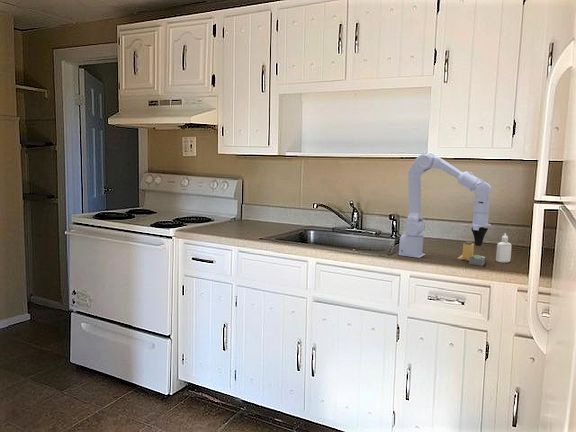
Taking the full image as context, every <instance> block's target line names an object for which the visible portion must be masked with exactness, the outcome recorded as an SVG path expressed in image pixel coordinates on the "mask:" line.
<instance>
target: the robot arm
mask: <svg viewBox="0 0 576 432" xmlns="http://www.w3.org/2000/svg"><path fill="white" fill-rule="evenodd" d="M431 169H435V170H436V169H437V170H438V169H440V170H442V171H443V172H445V173H447V174H449V175H450V176H452V177H454V178H456V179H457V183H458V184H459V185H460V186H462V187H463V188H465V189H467V190H468V191H470V192H473V193H474V201H473V214H472V215H473V216H472V223H471V225H472V227H471V229H470V230H471V232H472V234H473V239H474V247H476V246H477V247H482V245H483V242H484V238H485V236H486V233H487V232H488V230H489V228H488V227H491V226H492V224H491V223H489V215H490V214H489V213H490V203H491V201H490V199H491V198H490V197H491V196H490V194H491V193H492V186H491V185H490V184H489V183H488V182H487V181H484V179H482V178H479V177H476V176H475V175H474V174H473V173H474V172H472V171H462V170H459V168H456V167H455V166H453V164H451V163H449V162H448V161H446V160H444V159H443V158H441V157H439V156H436V155H435V154H432V153H421V154H420V155H418V156H417V157H416V158H414V161H413V164H412V165H411V167H410V168H409V170H408V171H407V175H408V176H407V177H408V179H407V180H408V216H407V218H406V224H405V226H404V229H405V232H406V233H402V234H401V235H400V238H399V243H398V244H399V247H398V249H399V250H398V256H403V257H409V258H410V257H411V258H415V259H417V258H418V259H420V258H422V257H423V256H425V255H426V253H424V252H423V247H424V246H423V245H424V234H423V231H424V230H425V228H426V225H425V222H424V217H423V214H422V190H421V189H422V188H421V186H422V185H421V180H422V179H421V177H422V176H423V175H424V174H425V173H426V172H427V171H428V170H431Z"/></svg>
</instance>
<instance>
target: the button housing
mask: <svg viewBox="0 0 576 432" xmlns="http://www.w3.org/2000/svg"><path fill="white" fill-rule="evenodd" d="M484 257H485V256H482V257H481V259H475V258H474V256H472V257H470V258H469V261H468V265H474V266H484V265H485V264H486V259H485V258H484Z"/></svg>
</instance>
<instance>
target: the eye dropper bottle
mask: <svg viewBox="0 0 576 432" xmlns="http://www.w3.org/2000/svg"><path fill="white" fill-rule="evenodd" d="M495 254H496V255H495V261H496V262H497V263H500V264H501V263H503V264H504V263H505V264H506V263H510V262H511V258H512V257H511V256H512V243H510V242H509V236H508V235H507V233H505V232H504V234H503V235H502V236H501V241H500V242H497V245H496V253H495Z"/></svg>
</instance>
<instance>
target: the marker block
mask: <svg viewBox="0 0 576 432" xmlns="http://www.w3.org/2000/svg"><path fill="white" fill-rule="evenodd" d="M474 249H475V243H473V241H465V242H464V243H463V244H462V254H463V255H462V254H461V255H462V257H463V258H470V257H472V256H473V255H474Z"/></svg>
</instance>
